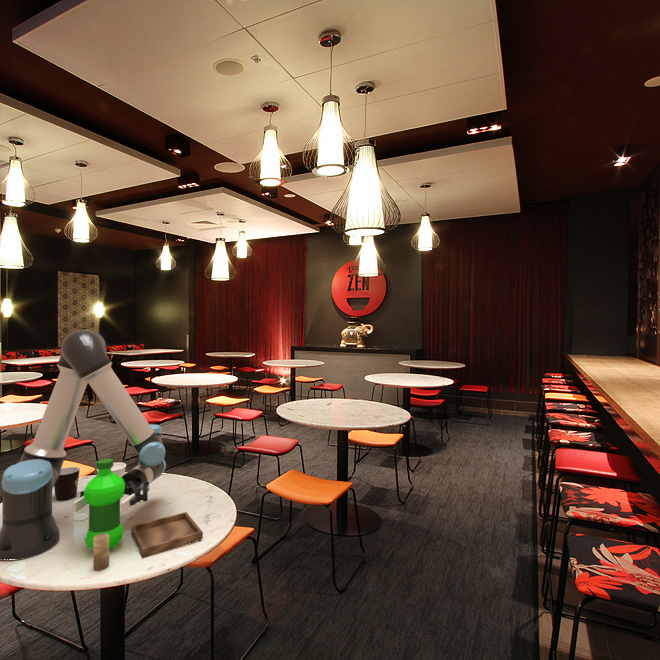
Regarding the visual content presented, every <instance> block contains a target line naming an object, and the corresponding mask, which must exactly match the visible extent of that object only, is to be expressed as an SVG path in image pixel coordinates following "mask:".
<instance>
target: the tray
mask: <svg viewBox="0 0 660 660" xmlns="http://www.w3.org/2000/svg"><path fill="white" fill-rule="evenodd" d="M130 527H131V528H130V529H131V530H130V531H131V532H130V534H131V537H132V539H133V541H134V543H135V545H136V546H137V547H136V548H137V550H138V552H139V553H140V556H141V558H142V559H144V558H146V557H147V558H148V557H151V556H154V555H157V554H160V553H165V552H167V551H171V550H174V548H175V549H178V548H181V547H184V546H183V545H185V546H187V545H186V544H188V545H190V544H189V543H191V544H193V543H192V542H195V541H197V540H201V539H204V538H203V537H204V535H203V534H204V533H203V530H202V529H201V528H200V527H199V526H198V524H197V523H196V522H195V521H194V520H193V518H192V517H191V516H190V514H189V513H188V512H187V511H183V512H180V513H177V514H173V515H170V516H165V517H161V518H157V519H152V520H149V521H146V522H141V523H137V524H134V525H133V524H132V525H131V526H130ZM201 541H202V540H201ZM195 543H196V542H195ZM180 546H181V547H180ZM177 547H178V548H177Z"/></svg>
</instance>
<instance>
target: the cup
mask: <svg viewBox="0 0 660 660" xmlns="http://www.w3.org/2000/svg"><path fill="white" fill-rule="evenodd" d="M126 467H127V463H125V462H113V467H112V468H111V472H113V473H115V474H116V475H118V476H119V477H121V478H122V476H123V475H124V474H125V473H126ZM96 471H97V474H99V470H98V469H96Z"/></svg>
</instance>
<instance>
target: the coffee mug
mask: <svg viewBox="0 0 660 660" xmlns="http://www.w3.org/2000/svg"><path fill="white" fill-rule="evenodd" d="M80 471H81V470H80V467H77V466H68V467H61V473H60V475H59V477H58V479H57V480H56V482H55V485H54V487H53V490H54V495H55V500H56V501H57V502H65V501H66V502H67V501H70V500H73V499H75V498H76V497H77V495H78V494H77V493H78V485H79V477H80Z"/></svg>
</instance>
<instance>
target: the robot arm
mask: <svg viewBox="0 0 660 660" xmlns="http://www.w3.org/2000/svg"><path fill="white" fill-rule="evenodd" d="M106 351H107V344H106V340H105V339H104V337H103V336H102V335H101V334H100V333H98V332H96V331H93V330H90V329H79V330H75V331H73V332H71V333H69V334H67V335H66V337H64V339H63V341H62V342H61V346H60V352H61V354H60V356H59V359H58V361H57V364H56V366H57V368H58V370H59V374H58V377H57V379H56V382H55V385H54V387H53V389H52V393H51V394H50V398H49V400H48V403H47V405H46V408H45V411H44V413H43V415H42V418H41V421H40V423H39V425H38V428H37V431H36V434H35V437H34V439H33V442H32V443H30V444H29V445H27V446H25V447H24V450H23V452H22V454H21V457H20V460H19V462H17V463H16V464H12V465H10V466H8V467H7V468H6V469H5V470H4V472H3V474H2V479H1V489H2V491H1V493H2V494H1V497H2V499H1V500H2V501H1V505H2V514H1V515H2V517H1V520H2V525H1V528H0V559H6V560H7V559H8V560H9V559H19V560H23V559H22V558H24V559H28V558H31V557H33V556H34V555H35V556H37V555H40V554H43V553H44V552H46V551H48V550H50V549H51V548H53V547H55V546H56V545H57V544H58V543H59V541H60V530H59V527H58V525H57V522H56V520H55V518H54V515H53V490H54V485H55V482H56V480H57V479H58V477H59V475H60V473H61V469H62V468H63V465H64V462H65V459H66V456H67V451H65V449H64V446H65V444H66V442H67V439H68V437H69V433H70V431H71V428H72V425H73V423H74V421H75V418H76V415H77V412H78V409H79V407H80V404H81V402H82V399H83V397H84V393H85V390H86V388H87V386H88V384H89V386H90V387H91V389H92V390H93V392H94V393H95V395H96V396H97V397H98V399H99V401H100V402H101V403H102V405H103V406H104V407H105V409H106V410H107V411H108V413H109V414H110V416H111V417H112V419H113V420H114V421H115V423H116V424H117V425H118V427H119V429H120V431H122V433H123V434H124V435H125V437H126V439H127V440H128V442H129V443H130V444H131V446H132V447H133V449H134V450H135V452H136V454H137V455H138V464H137V465H136V466H135V467H133V468H131V469H130V470H129V471H127V472H125V473H124V475H123V476H122V479H123V480H124V482H125V489H124V494H123V495H127V496H128V497H127V498H125V499H124V500H123V501H122V502H120V514H124V513H125V512H127V511H128V510H129V509H130V508H131V507H133V506H135V505H136V504H138V503H141V501H143V502H145V503H146V502H148V496H149V495H148V492H149V491H150V485H151V483H153V482H154V481H155V480H156V479H158V478H160V476H161V475H162V474H163V473H164V472H165V471H166V468H167V463H166V460H165V457H166V447H165V446H164V444H163V443H164V442H163V440H162V434H163V433H162V426H161V425H159V424H149V422H148V420H147V418H146V417H145V416H144V414H143V413H142V411H141V410H140V408H139V407H138V406H137V404H136V402H135V401H134V399H133V398H132V396H131V395H130V394H129V392H128V391H127V389H126V388H125V387H124V385H123V383H122V381H121V380H120V378H119V377H118V376H117V374H116V373H115V372H114V369H113V368H112V364H113V362H112V361H111V359H110V358H109V356H108V354H107V352H106ZM141 491H142V493H141ZM79 495H80V497H79V498H78V499H77V500H74V501H73V502H72V503H73V504H72V512H73V513H77V512H78V511H80V510H81V509H83V508H85V507H86V506H88V505H89V504H88V503H87V502H85V500H84V490H81V491H80V493H79ZM30 556H31V557H30ZM27 557H28V558H27ZM6 560H5V561H6ZM9 561H10V560H9Z"/></svg>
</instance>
